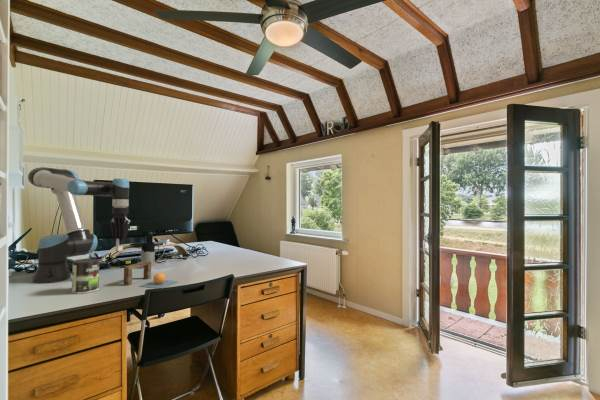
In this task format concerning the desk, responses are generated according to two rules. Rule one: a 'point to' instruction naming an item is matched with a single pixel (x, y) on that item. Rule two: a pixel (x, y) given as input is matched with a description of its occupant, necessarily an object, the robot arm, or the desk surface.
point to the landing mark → (164, 284)
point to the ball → (159, 278)
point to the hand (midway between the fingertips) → (119, 250)
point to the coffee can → (85, 276)
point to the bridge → (129, 268)
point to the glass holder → (149, 253)
